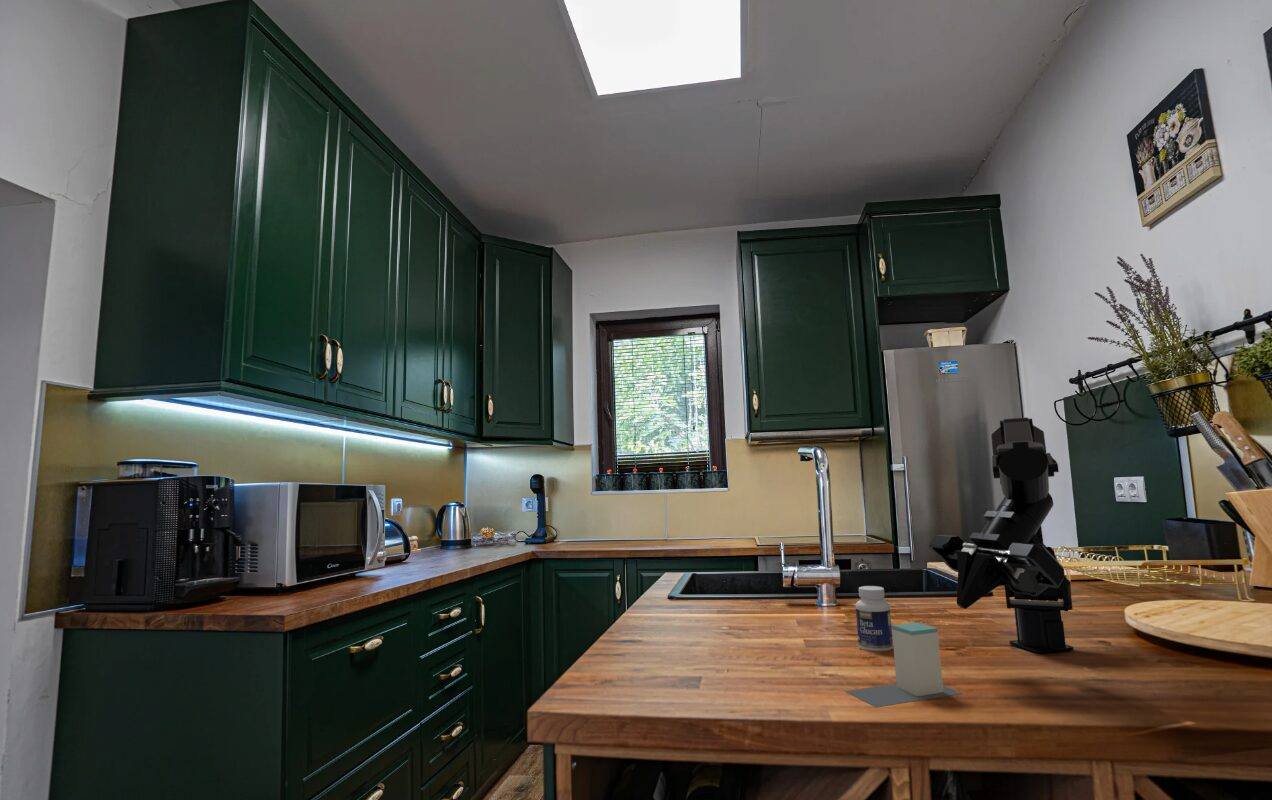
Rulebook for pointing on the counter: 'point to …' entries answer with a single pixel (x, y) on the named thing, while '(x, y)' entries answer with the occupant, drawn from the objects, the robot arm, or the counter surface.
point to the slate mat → (894, 695)
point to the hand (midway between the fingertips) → (960, 606)
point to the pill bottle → (873, 620)
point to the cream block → (917, 658)
